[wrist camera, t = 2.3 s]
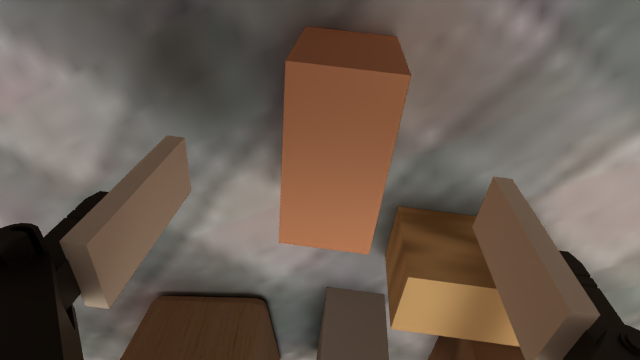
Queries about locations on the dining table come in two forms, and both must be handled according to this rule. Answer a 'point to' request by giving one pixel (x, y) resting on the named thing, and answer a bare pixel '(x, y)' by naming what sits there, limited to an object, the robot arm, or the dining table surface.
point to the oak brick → (442, 279)
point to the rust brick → (339, 136)
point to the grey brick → (353, 326)
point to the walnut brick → (473, 350)
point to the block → (204, 330)
